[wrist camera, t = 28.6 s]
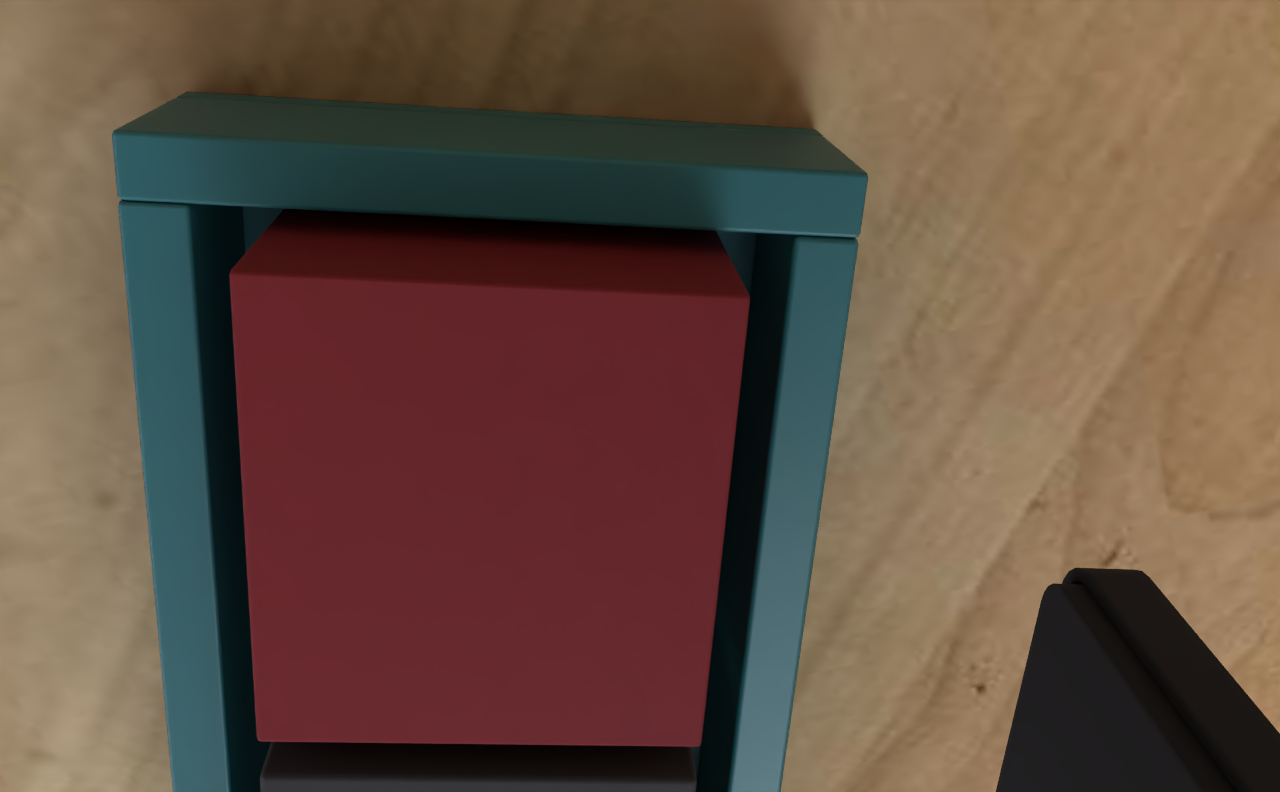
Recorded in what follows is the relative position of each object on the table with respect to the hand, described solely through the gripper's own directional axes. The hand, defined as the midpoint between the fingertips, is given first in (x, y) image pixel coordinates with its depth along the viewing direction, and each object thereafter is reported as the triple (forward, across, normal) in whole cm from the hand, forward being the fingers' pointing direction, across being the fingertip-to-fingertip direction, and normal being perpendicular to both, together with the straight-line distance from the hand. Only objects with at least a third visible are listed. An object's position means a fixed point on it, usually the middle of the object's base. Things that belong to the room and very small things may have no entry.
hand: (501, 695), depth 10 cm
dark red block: (+8, 0, +1) cm, 8 cm away
